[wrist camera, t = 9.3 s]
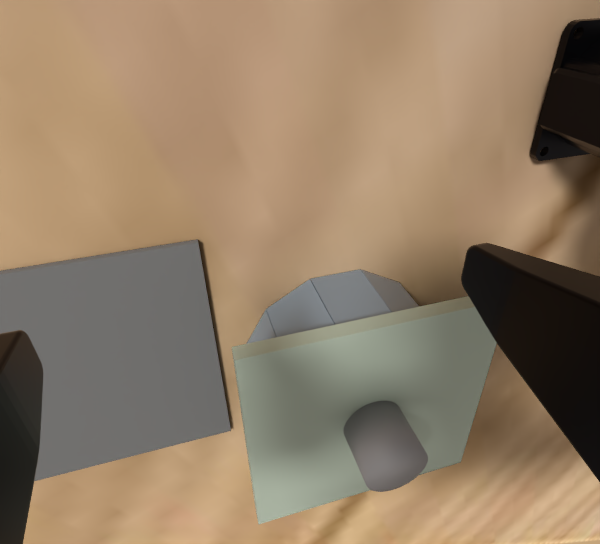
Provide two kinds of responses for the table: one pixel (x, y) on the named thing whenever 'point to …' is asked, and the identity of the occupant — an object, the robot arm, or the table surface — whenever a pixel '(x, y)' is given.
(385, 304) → the bowl
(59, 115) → the table surface
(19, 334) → the robot arm
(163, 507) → the table surface
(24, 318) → the mat
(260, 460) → the lid
